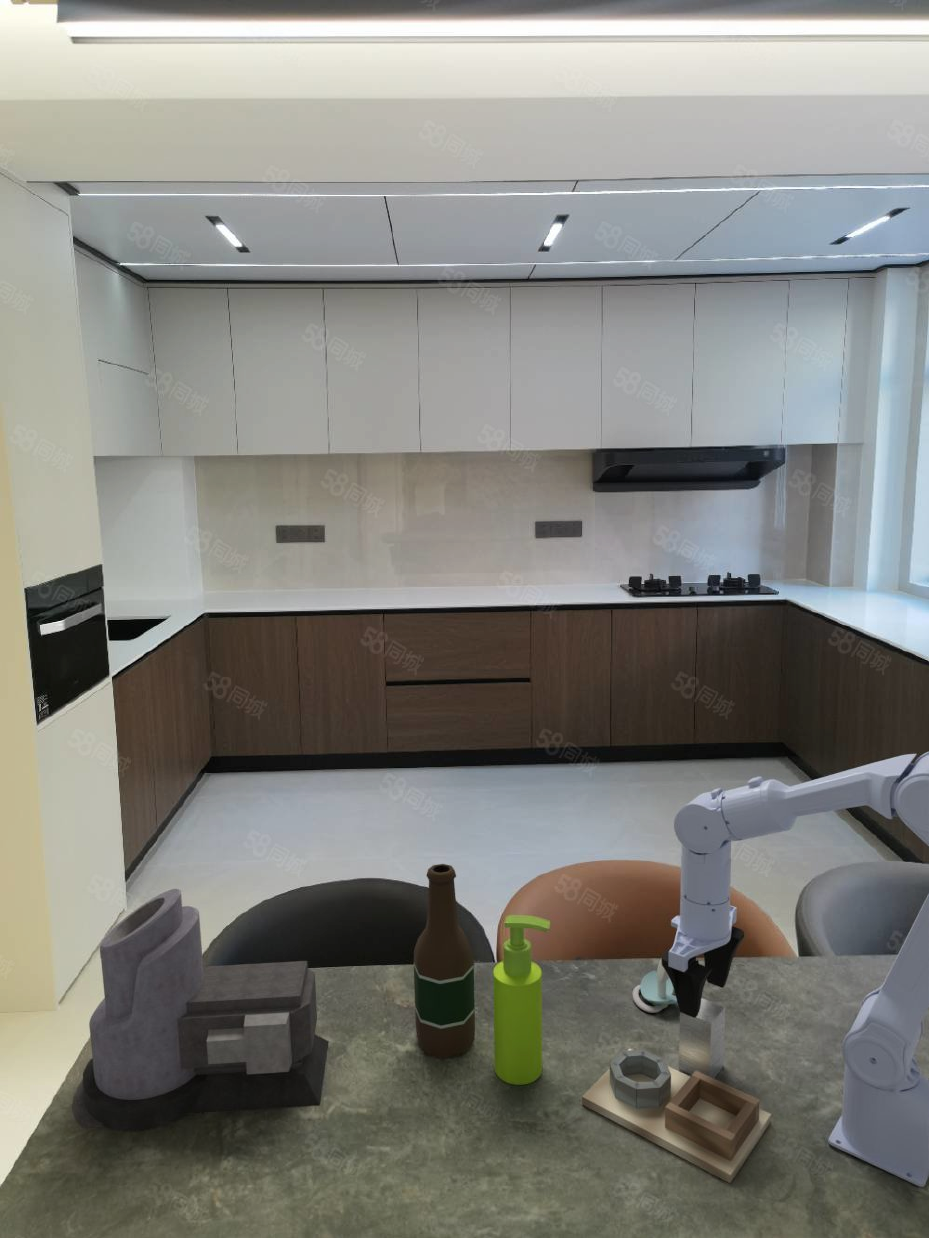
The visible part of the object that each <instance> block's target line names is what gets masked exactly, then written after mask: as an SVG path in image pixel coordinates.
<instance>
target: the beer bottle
mask: <svg viewBox="0 0 929 1238" xmlns="http://www.w3.org/2000/svg"><path fill="white" fill-rule="evenodd" d="M456 877H457V874H456V871H455V869H454V867H453V865H449V864H446V863H440V864H432V865H431V866H430V867H429V868H428V869H427V871H426V878H427V879H428V894H427V895H428V896H427V897H428V899H427V902H428V903H427V917H426V925H425V928H424V929H423V931H422V932H421V934H420V935H419V936H418V938H417V941H416V943H415V946H414V950H413V979H414V980H413V981H414V982H413V983H414V984H413V985H414V1014H415V1015H414V1016H415V1031H416V1039H417V1041H418V1044H419V1046H420V1049H421V1051H422V1053H423V1054H426V1055H428V1056H431V1057H432V1058H433V1057H434V1058H437V1059H440V1060H446V1059H451V1058H456V1057H460V1056H464V1054H465V1053H466V1052H467V1050H468V1049H470V1047H471V1046H470V1045H473V1043H474V1041H475V1035H476V1033H475V1031H476V1012H475V1011H476V1010H475V1009H476V1007H475V1003H476V1002H475V964H474V955H473V953H474V952H473V950H472V947H471V944H470V942H469V940H468V938H467V936H466V934H465V932H464V931H463V929H462V928H461V927H460V924H459V919H458V909H457V899H456V888H455V886H456V885H455V878H456Z"/></svg>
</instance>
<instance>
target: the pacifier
mask: <svg viewBox="0 0 929 1238" xmlns="http://www.w3.org/2000/svg"><path fill="white" fill-rule="evenodd" d="M661 960H662V958H661V959H660V960H659V962H658V965H657V970H653V971H650V972H647V973H646V974H645V975H644V976H643V977H642V979H641V982H640V984H637V985H636V986H635V987H634V989H633V990H632V993H631V994H632V999H633V1001H634V1004H635V1005H636V1006H637V1007H638V1008H639V1009H641V1010H642V1011H644V1012H647V1013H652V1014H653V1013H659V1012H661V1011H662V1010H663V1009H666V1008H667V1007H668V1006H669V1005H673V1004H674V1005H675V1004H678V1003H677V999H676V995H675V994H674V995H673V993H674V988H673V985H672V982H671V980H670V978H669V976H668V974H667V972H666V971H665V969H664V968H663V966H662V962H661ZM640 993H641V996H642V998H643V999H644V1000H645V1001H647V1002H650V1003H651V1004H652V1006H651V1005H648V1004H646V1003H645V1002H644V1001H642V999H641V998H640Z"/></svg>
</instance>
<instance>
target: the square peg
mask: <svg viewBox="0 0 929 1238" xmlns="http://www.w3.org/2000/svg"><path fill="white" fill-rule="evenodd" d="M725 1021H726V1006H723V1005H720V1004H718V1003H716V1002H713V1001H710V1000H707V999H705V998H703V997H702V999H701V1005H700V1010H699V1013H698V1015H697V1016H696V1018H693V1017H691V1016H689V1015H686V1014H684V1013H681V1012H680V1011H679V1037H678V1038H679V1039H678V1041H679V1042H678V1043H679V1045H678V1071H679V1072H682V1073H684V1074H686V1075H688V1076H690V1077H691V1076H692V1075H693V1073H694V1072H695V1071H698V1072H700V1073H702V1074H705V1075H707V1076H709V1077H711V1078H713V1079H716V1076H717V1075H718V1074H719V1072H721V1070H722V1069H723V1068H724V1056H725V1055H724V1054H725V1031H726V1030H725V1027H726V1026H725V1024H726V1022H725Z"/></svg>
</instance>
